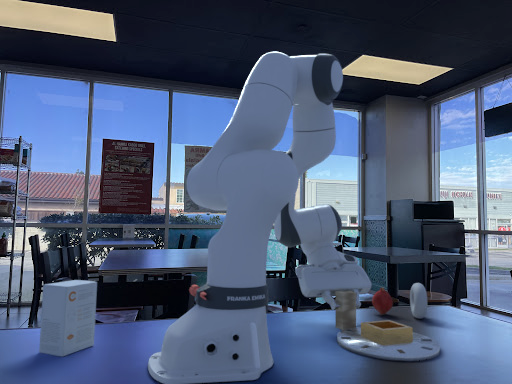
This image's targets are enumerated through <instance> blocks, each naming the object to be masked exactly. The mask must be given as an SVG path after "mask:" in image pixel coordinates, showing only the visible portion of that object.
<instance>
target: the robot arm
mask: <svg viewBox="0 0 512 384" xmlns="http://www.w3.org/2000/svg"><path fill="white" fill-rule="evenodd" d="M343 82H344V73H343V67H342V64H341V61H340V60H339V59H338V58H337V57H336V56H335V54H329V53H317V54H305V55H291V56H289V55H288V54H285V53H283V52H279V51H270V52H266V53H265V54H263V55H261V56H260V58H259V59H258V60H257V62H256V63H255V64H254V66H253V68H252V69H251V71H250V73H249V75H248V77H247V79H246V80H245V83H244V85H243V87H242V88H243V89H242V91H241V93H240V96H239V99H238V101H237V103H236V106H235V109H234V111H233V114H232V116H231V118H230V120H229V122H228V123H227V125H226V127H225V128H224V130H223V132H222V133H221V134H220V136H219V137H218V139H217V140H216V142H215V143H214V144H213V146H212V147H211V148H210V150H209V151H208V153H206V155H205V156H204V157H203V158H202V159H201V160H200V161H199V162H198V163H196V164H195V165H194V166H192V168H191V169H190V170H189V172H188V174H187V176H186V177H187V178H186V191H187V194H188V196H189V198H190V199H191V201H192V202H193V203H194V204H196V205H197V206H199V207H202V208H205V209H208V210H212V211H216V212H217V211H223V212H224V211H226V213H225V216H224V220H223V222H222V224H221V227H220V228H219V230H218V231H217V232H216V233H215V234H214V235H213V236H212V237H211V238H210V240H209V242H208V244H207V269H206V270H207V271H206V272H207V273H206V276H207V277H206V283H204V284H203V285H202V286H199V285H197V284H192V285H191V287H189V289H188V291H189V293H190V295H191V296H193V297H195V305H194V306H193V307H191V308H190V309H189V310H188V311H187V312H186V313H184V314H183V315H182V316H180V317H179V318H178V319H177V320H175V321H174V322H173V323H172V324H170V325H169V326H168V327H167V329H166V331H165V333H164V337H163V340H162V344H161V345H162V346H161V351H158V352H155V353H153V354H152V355H151V356H150V357H149V359H148V363H147V369H148V372H149V375H150V376H151V377H152V378H153V379H154V380H156V381H157V382H158V383H162V384H202V383H203V384H204V383H219V382H220V383H221V382H222V383H224V382H225V383H226V382H240V381H254V380H259V378H260V377H261V375H262V374H263V372H265V371H267V370H269V369H270V368H272V367H273V364H274V358H273V355H272V351H271V346H270V341H269V333H268V325H267V324H268V323H267V322H268V321H267V314H268V311H269V309H268V308H269V285H268V284H267V282H266V281H267V259H268V257H267V256H268V246H269V240H270V236H271V233H272V230H273V232H274V235H275V236H274V237H275V238H276V240H277V242H279V243H280V244H281V245H283V246H285V247H286V248H294V247H297V246H300V248H301V250H302V252H303V254H305V257H306V260H307V264H299V265H298V266H296V267H295V271H294V272H295V275H296V277H297V278H298V284H299V287H300V291H301V293H302V295H303V296H304V297H306V298H318V297H322V299H323V300H324V302H326V303H327V304H329V306H330V308H331V310H332V311H333V310H334V311H336V309H338V308H339V307H340V305H339V303H338V300H336V299H334V298H333V297H336V291H352V292H356V309H359V308H361V305H362V302H361V301H360V295H366V294H368V293H369V291H370V290H371V288H372V281H371V280H370V277H369V276H368V274H367V272H366V271H365V269H364V268H363V267H362V266H361V265H360V264H358V263H359V259H358V258H357V257H356V256H353V255H350V254H346V253H344V252H341V251H338V250H337V248H336V247H335V246H334V242H336V240H337V239H338V237H339V235H340V233H341V232H342V229H343V228H342V227H343V221H342V218H341V216H340V214H339V212H338V210H337V209H336V208H334V206H333V205H331V204H328V203H326V204H325V203H324V204H318V205H312V206H306V207H303V208H297V209H296V208H295V204H296V195H297V191H298V188H299V183H300V182H299V181H300V178H301V177H302V175H304V174H305V173H307V171H309V170H310V169H312V168H314V167H315V166H317V165H319V164H321V163H323V162H324V161H325V160H326V159H328V158H329V156H330V155H331V154H332V153H333V152H334V150H335V147H336V141H337V133H336V132H337V131H336V117H335V111H334V105H333V101H334V100H335V99H337V97H338V95H339V94H340V93H341V91H342V87H343ZM291 111H292V141H291V145H290V146H289V148H288V150H287V151H286V152H284V151H282V150H276V149H275V150H274V148H276V147H277V146H278V145H279V143H281V141H282V139H283V137H284V134H285V132H286V128H287V125H288V122H289V118H290V116H291Z"/></svg>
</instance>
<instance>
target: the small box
mask: <svg viewBox="0 0 512 384" xmlns="http://www.w3.org/2000/svg"><path fill="white" fill-rule="evenodd" d="M97 292H98V281H94V280H93V281H92V280H85V279H84V280H83V279H82V280H81V279H74V280H73V279H72V280H65V281H59V282H53V283H45V284H42V299H41V300H42V301H41V314H40V315H41V317H40V319H41V320H40V330H39V331H40V332H39V333H40V335H39V349H38V350H39V351H38V352H39V353H40V354H45V355H46V354H47V355H51V356H55V357H63V358H64V357H65V356H68V355H70V354H74V353H76V352H78V351H81V350H85V349H87V348H90V347H92V346H95V335H96V334H95V332H96V331H95V330H96V312H97V311H96V310H97V296H98V295H97Z"/></svg>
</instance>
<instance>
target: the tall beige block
mask: <svg viewBox="0 0 512 384" xmlns="http://www.w3.org/2000/svg"><path fill="white" fill-rule="evenodd" d="M335 300H338V303H339V305H340V307H339V308H338V309H335V328H336V329H339V330H340V331H342V330H345V329H349V328H356V327H357V308H356V292H352V291H336V296H335Z"/></svg>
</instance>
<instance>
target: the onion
mask: <svg viewBox="0 0 512 384" xmlns="http://www.w3.org/2000/svg"><path fill="white" fill-rule="evenodd" d="M371 303H372V306H373V308H374V310H376V311H377V312H378V313H379V314H380V315H383V316H384V315H386V314H387V313H388V312H389V311H390V310H392V308H393V304H394V302H393V298H392V296H391V294H390V293H389V292H388V291H386V290H385V287H380V289H379V290H378V291H376V292H375V293H374V294H373V296H372V299H371Z"/></svg>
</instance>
